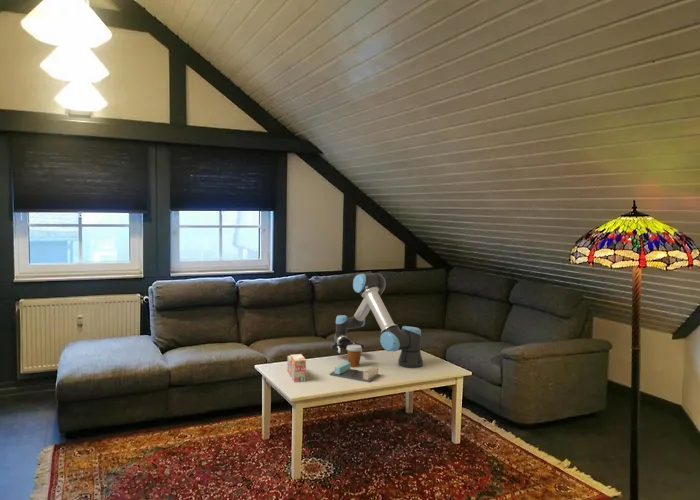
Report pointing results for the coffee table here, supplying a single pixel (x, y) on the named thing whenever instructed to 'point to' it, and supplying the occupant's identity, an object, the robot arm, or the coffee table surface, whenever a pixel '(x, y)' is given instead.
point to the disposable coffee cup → (354, 355)
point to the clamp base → (359, 374)
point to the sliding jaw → (342, 368)
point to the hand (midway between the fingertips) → (350, 350)
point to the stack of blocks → (297, 367)
